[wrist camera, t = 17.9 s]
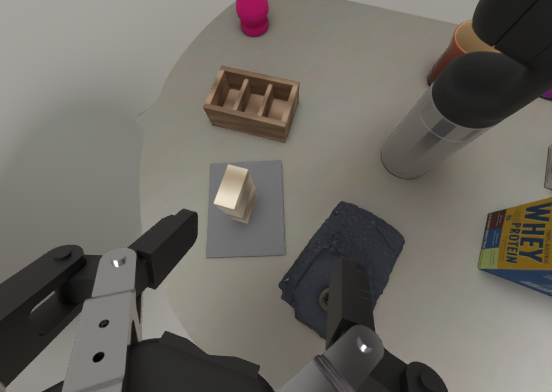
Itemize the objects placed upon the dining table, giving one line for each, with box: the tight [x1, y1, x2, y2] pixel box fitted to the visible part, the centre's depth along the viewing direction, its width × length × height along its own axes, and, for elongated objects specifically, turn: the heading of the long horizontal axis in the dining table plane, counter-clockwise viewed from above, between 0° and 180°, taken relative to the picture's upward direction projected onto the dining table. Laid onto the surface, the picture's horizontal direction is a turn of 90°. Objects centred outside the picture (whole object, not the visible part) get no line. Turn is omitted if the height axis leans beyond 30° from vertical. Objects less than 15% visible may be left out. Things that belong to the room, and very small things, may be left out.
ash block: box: [213, 164, 258, 224], centre depth 39 cm, size 6×3×12 cm, turn 163°
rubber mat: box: [206, 160, 285, 258], centre depth 45 cm, size 18×14×1 cm
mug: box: [428, 20, 501, 85], centre depth 46 cm, size 12×9×10 cm
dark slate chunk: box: [279, 201, 405, 340], centre depth 40 cm, size 15×22×5 cm
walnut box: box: [203, 66, 300, 142], centre depth 48 cm, size 10×16×6 cm, turn 73°
